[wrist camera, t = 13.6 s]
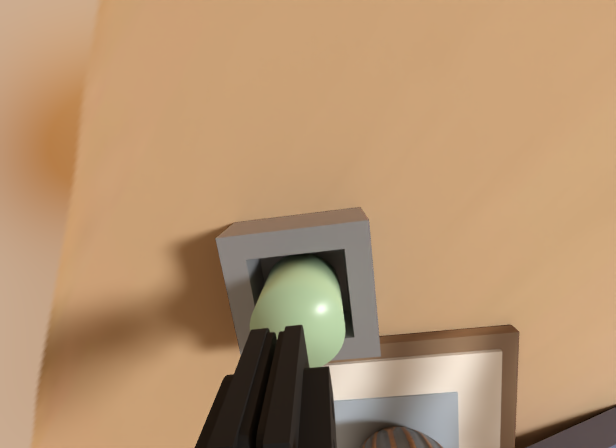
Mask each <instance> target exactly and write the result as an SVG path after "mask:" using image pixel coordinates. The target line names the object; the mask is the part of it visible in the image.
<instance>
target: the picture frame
mask: <svg viewBox="0 0 616 448" xmlns="http://www.w3.org/2000/svg"><path fill="white" fill-rule="evenodd" d="M379 339H380V351H381V357H369V358H357V359H345V360H333V361H330V362H328V363H327V364H325V365H323V366H321V367H325V366H329V368H330V375H331V382H332V389H333V398H334V409H335V424H336V441H337V448H360V446H361V445H362V444H363V442H364V441H365V440H367V439H368V438H369V437H370V436H371V435H373V434H374V433H375V432H377V431H379V430H381V429H384V428H387V427H394V426H400V427H407V428H411V429H414V430H417V431H419V432H422V433H424V434H426V435H427V436H429V437H431V438H432V439H434V440H435V441H437V442H438V443H439V444H440V445H441V446H442V447H443V448H515V429H516V403H517V378H518V352H519V331H518V330H517V329H515V328H514V327H513V326H512V325H504V326H493V327H481V328H470V329H459V330H447V331H436V332H425V333H413V334H402V335H391V336H379Z"/></svg>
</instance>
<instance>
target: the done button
mask: <svg viewBox="0 0 616 448" xmlns="http://www.w3.org/2000/svg"><path fill="white" fill-rule="evenodd" d="M293 325H303V329H304V336H305V342H306V348H307V355H308V361H309V367H310V368H314V367H321V366H323V365H325V364H327V363H328V362H330V361H331V360H332V359H333V358H334V357H335V356H336V355H337V354H338V352H339V351H340V349H341V347H342V345H343V342H344V338H345V321H344V314H343V306H342V298H341V290H340V283H339V278H338V275H337V273H336V271H335V270H334V268H333V267H332V266H331V265H330V264H329V263H328V262H327V261H326V260H324V259H323V258H321V257H319V256H317V255H314V254H309V253H303V254H294V255H288V256H286V257H284V258H282V259H281V260H279V261H278V262H277V263H276V264H275V265H274V266H273V268H272V269H271V271H270V273H269V275H268V278H267V280H266V282H265V285H264V287H263V289H262V292H261V294H260V296H259V299H258V301H257V303H256V306H255V308H254V310H253V313H252V316H251V319H250V331H251V330H252V329H262V328H269V330H270V332H275V333H276V337H277V339H278V334H279V332H280V331H284V330H285V327H286V326H293Z"/></svg>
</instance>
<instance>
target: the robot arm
mask: <svg viewBox="0 0 616 448" xmlns="http://www.w3.org/2000/svg"><path fill="white" fill-rule="evenodd" d="M195 448H337V441H336V424H335V409H334V398H333V389H332V382H331V375H330V368H329V366H325V367H314V368H310V367H309V361H308V355H307V348H306V342H305V336H304V329H303V325H293V326H286V327H285V330H284V331H280V332H279V334H278V339H277V337H276V333H275V332H270V330H269V328H262V329H252V330H251V331H250V333H249V336H248V339H247V341H246V344H245V347H244V349H243V352H242V355H241V357H240V360H239V362H238V365H237V368H236V370H235V373H234V374H233V375H227V376H225V377H224V379H223V381H222V383H221V386H220V388H219V391H218V393H217V395H216V398H215V400H214V403H213V405H212V407H211V410H210V412H209V415H208V417H207V420H206V422H205V424H204V427H203V429H202V432H201V434H200V436H199V439H198V441H197V444H196V446H195Z"/></svg>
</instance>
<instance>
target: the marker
mask: <svg viewBox="0 0 616 448" xmlns="http://www.w3.org/2000/svg"><path fill="white" fill-rule="evenodd" d="M526 448H616V407H615V408H612V409H610V410H608V411H606V412H604V413H601V414H599V415H597V416H595V417H593V418H590V419H588V420H586V421H584V422H582V423H579V424H577V425H575V426H573V427H571V428H568V429H566V430H564V431H562V432H559V433H557V434H555V435H553V436H551V437H548V438H546V439H544V440H542V441H540V442H537V443H535V444H533V445H531V446H529V447H526Z"/></svg>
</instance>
